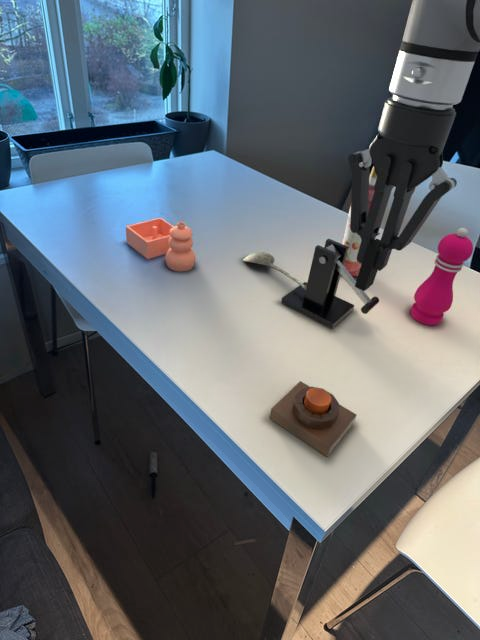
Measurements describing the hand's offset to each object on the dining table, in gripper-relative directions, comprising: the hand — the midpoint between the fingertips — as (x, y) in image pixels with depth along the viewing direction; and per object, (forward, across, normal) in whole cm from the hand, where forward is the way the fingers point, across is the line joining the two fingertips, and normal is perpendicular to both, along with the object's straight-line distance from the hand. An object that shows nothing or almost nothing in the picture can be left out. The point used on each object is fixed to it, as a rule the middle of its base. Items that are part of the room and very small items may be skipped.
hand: (363, 285), depth 62 cm
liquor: (+20, -16, +35) cm, 44 cm away
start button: (+16, +2, -9) cm, 18 cm away
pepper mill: (+20, +4, +32) cm, 38 cm away
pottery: (+19, -50, +8) cm, 54 cm away
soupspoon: (+19, -26, +19) cm, 37 cm away
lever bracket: (+19, -14, +17) cm, 29 cm away
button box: (+20, +2, -9) cm, 22 cm away
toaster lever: (+11, -10, +17) cm, 23 cm away
